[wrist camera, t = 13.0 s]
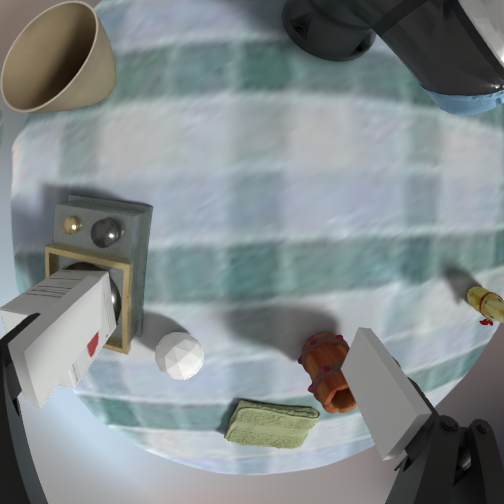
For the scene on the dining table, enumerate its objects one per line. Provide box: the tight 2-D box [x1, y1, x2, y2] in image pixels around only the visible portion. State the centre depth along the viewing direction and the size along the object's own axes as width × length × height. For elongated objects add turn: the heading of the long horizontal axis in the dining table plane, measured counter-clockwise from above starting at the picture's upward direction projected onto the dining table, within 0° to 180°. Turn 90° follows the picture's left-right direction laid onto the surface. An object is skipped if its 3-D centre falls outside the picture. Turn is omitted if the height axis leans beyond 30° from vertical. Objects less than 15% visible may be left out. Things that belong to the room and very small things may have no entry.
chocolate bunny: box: [467, 286, 504, 326], centre depth 42 cm, size 7×11×15 cm, turn 67°
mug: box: [298, 332, 401, 414], centre depth 41 cm, size 15×8×15 cm, turn 96°
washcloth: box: [224, 400, 320, 449], centre depth 52 cm, size 13×18×3 cm
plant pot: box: [0, 1, 116, 113], centre depth 27 cm, size 15×15×16 cm
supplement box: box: [0, 270, 116, 388], centre depth 30 cm, size 9×9×15 cm
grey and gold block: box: [45, 194, 153, 354], centre depth 39 cm, size 22×15×8 cm
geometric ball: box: [155, 332, 204, 380], centre depth 43 cm, size 8×8×8 cm
